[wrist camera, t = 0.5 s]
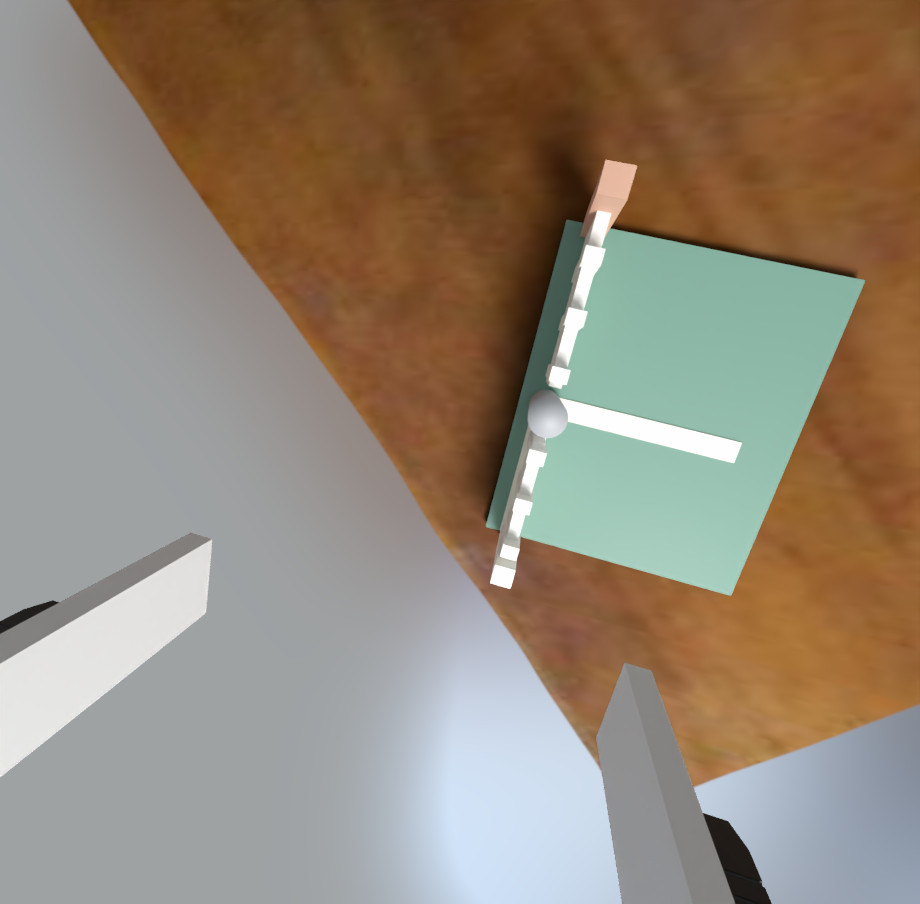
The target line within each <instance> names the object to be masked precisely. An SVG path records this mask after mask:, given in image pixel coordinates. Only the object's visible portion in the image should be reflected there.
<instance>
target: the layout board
mask: <svg viewBox="0 0 920 904" xmlns="http://www.w3.org/2000/svg"><path fill="white" fill-rule="evenodd" d="M582 227H583V223H581V222H576V221H571V220H566V224H565V228H564V231H563V235H562V239H561V243H560V247H559V250H558V254H557V258H556V262H555V265H554V269H553V273H552V277H551V281H550V284H549V288H548V292H547V296H546V300H545V303H544V307H543V311H542V315H541V319H540V322H539V326H538V330H537V334H536V338H535V341H534V345H533V349H532V353H531V356H530V360H529V364H528V368H527V372H526V375H525V379H524V383H523V387H522V391H521V394H520V398H519V402H518V406H517V410H516V413H515V417H514V421H513V425H512V429H511V432H510V436H509V440H508V444H507V447H506V451H505V455H504V459H503V463H502V466H501V470H500V474H499V478H498V482H497V485H496V489H495V493H494V497H493V501H492V504H491V508H490V512H489V516H488V520H487V523H486V527H488V528H492V529H496V530H499V531H501V528H502V525H503V524H505V523H506V517H507V514H508V510H509V508H510V509H511V506H512V503H513V499H514V495H515V488H516V481H517V477H518V474H519V470H520V471H521V470H522V466H523V463H524V459H525V455H526V452H527V441H528V437H529V434H530V431H532V430H531V429H530V427H529V424H528V409H529V401H530V398H531V397H532V395H533V394H534V393H535V392H537V391H539V390H542V389H548V390H551V391H553V392H555V393H556V394H557V395H558V397H559V398H560V400H561V402H562V403H563V405H564V406H565V408H566V410H567V413H568V423H567V426H566V428H565V430H564V431H563V432H562V433H561V434H559V435H558V436H556V437H553V438H545V443H546V450H547V455H546V459H545V462H544V466H543V467H540V466H539V469H538V472H537V476H536V479H535V483H534V486H533V504H532V507H531V511H530V514H529V515H525V518H524V521H523V525H522V528H521V535H520V537H524V538H527V539H531V540H535V541H538V542H542V543H545V544H549V545H552V546H556V547H559V548H563V549H566V550H570V551H574V552H577V553H581V554H584V555H588V556H591V557H595V558H598V559H602V560H605V561H609V562H613V563H616V564H620V565H623V566H627V567H630V568H634V569H637V570H641V571H645V572H648V573H652V574H655V575H659V576H662V577H666V578H669V579H673V580H676V581H680V582H684V583H687V584H691V585H694V586H698V587H701V588H705V589H708V590H712V591H715V592H719V593H723V594H726V595H730V596H731V594H732V592H733V590H734V587H735V585H736V583H737V580H738V578H739V576H740V573H741V571H742V569H743V566H744V564H745V562H746V559H747V557H748V555H749V552H750V550H751V548H752V545H753V543H754V541H755V538H756V536H757V533H758V531H759V529H760V526H761V524H762V522H763V519H764V517H765V515H766V512H767V510H768V508H769V505H770V503H771V501H772V498H773V496H774V494H775V491H776V489H777V487H778V484H779V482H780V480H781V477H782V475H783V472H784V470H785V468H786V465H787V463H788V461H789V458H790V456H791V454H792V451H793V449H794V447H795V444H796V442H797V440H798V437H799V435H800V433H801V430H802V428H803V426H804V423H805V421H806V419H807V416H808V414H809V411H810V409H811V407H812V404H813V402H814V400H815V397H816V395H817V393H818V390H819V388H820V386H821V383H822V381H823V379H824V376H825V374H826V372H827V369H828V367H829V365H830V362H831V360H832V358H833V355H834V353H835V350H836V348H837V346H838V343H839V341H840V339H841V336H842V334H843V332H844V329H845V327H846V325H847V322H848V320H849V318H850V315H851V313H852V311H853V308H854V306H855V304H856V301H857V299H858V297H859V294H860V292H861V290H862V287H863V285H864V282H865V280H861V279H856V278H851V277H846V276H841V275H836V274H831V273H827V272H822V271H817V270H812V269H807V268H802V267H797V266H792V265H787V264H782V263H777V262H773V261H768V260H763V259H758V258H753V257H748V256H743V255H738V254H733V253H728V252H724V251H719V250H714V249H709V248H704V247H699V246H694V245H689V244H684V243H679V242H674V241H670V240H665V239H660V238H655V237H650V236H645V235H640V234H635V233H630V232H625V231H620V230H616V229H611V228H610V230H609V231H608V233H607V235H606V236H605V238H604V241H603V244H602V248H604V249H606V250H605V253H604V257H603V260H602V264H601V266H600V268H599V269H598V271H597V272H596V273H595V275H594V276H593V279H592V283H591V286H590V290H589V293H588V297H587V301H586V304H585V308H584V311H587V312H588V313H587V316H586V319H585V323H584V326H583V328H581V329H580V330H578V332H577V336H576V339H575V343H574V346H573V350H572V353H571V357H570V360H569V364H568V367H567V369H569V370H571V372H570V375H569V379H568V382H567V385H562V388H561V389H559V388H555V387H551V386H548V384H547V382H546V379H547V378H546V376H545V375H546V372H547V368H548V364H551V361H552V358H553V354H554V350H555V347H556V343H557V339H558V336H559V332H560V331H559V330H558V328H559V324H560V321H561V318H562V316H563V315H564V313H565V310H566V307H567V303H568V300H569V296H570V292H571V289H572V285H573V283H572V282H571V281H572V277H573V273H574V270H575V267H576V265H577V263H578V261H579V259H580V256H581V252H582V249H583V245H584V242H585V237H580V234H581V231H582Z"/></svg>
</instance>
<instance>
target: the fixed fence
mask: <svg viewBox="0 0 920 904" xmlns="http://www.w3.org/2000/svg"><path fill="white" fill-rule="evenodd" d="M567 423H568V413H567V410H566V408H565V406H564V405H563V403H562V402H561V400H560V398H559V397H558V395H557V394H556V393H555V392H553V391H551V390H548V389H542V390H539V391H537V392H535V393H534V394H533V395H532V397H531V398H530V401H529V409H528V424H529V427H530V429H531V430H532V431H530V434H529V437H528V441H527V452H526V455H525V459H524V463H523V466H522V470H521V471H520V470H519V474H518V477H517V481H516V488H515V495H514V499H513V503H512V506H511V509H510V508H509V510H508V514H507V517H506V523H505V524H503V525H502V528H501V531H500V535H499V539H498V544H497V550H496V555H495V560H494V565H493V570H492V576H491V581H490V583H492V584H495V585H498V586H502V587H505V588H509V589H510V588H511V585H512V582H513V578H514V575H515V571H516V561H517V556H518V552H519V549H520V535H521V528H522V525H523V521H524V518H525V515H529V514H530V511H531V507H532V504H533V486H534V483H535V479H536V476H537V472H538V469H539V466H540V467H543V466H544V462H545V459H546V455H547V450H546V443H545V438H553V437H556V436H558V435H559V434H561V433H562V432H563V431H564V430H565V428H566V426H567Z"/></svg>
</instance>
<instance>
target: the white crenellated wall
mask: <svg viewBox="0 0 920 904" xmlns="http://www.w3.org/2000/svg"><path fill="white" fill-rule="evenodd" d="M636 168H637V166H636V165H631V164H626V163H620V162H615V161H610V160H605V163H604V166H603V168H602V171H601V174H600V177H599V179H598V182H597V185H596V188H595V190H594V193H593V196H592V199H591V201H590V204H589V207H588V210H587V212H586V216H585V220H584V223H583V227H582V231H581V234H580V237H585V242H584V245H583V249H582V252H581V256H580V259H579V261H578V263H577V265H576V267H575V270H574V273H573V277H572V281H571V282H572V283H573V285H572V289H571V292H570V296H569V300H568V303H567V307H566V310H565V313H564V315H563V316H562V318H561V321H560V324H559V328H558V330H559V331H560V332H559V336H558V339H557V343H556V347H555V350H554V354H553V358H552V361H551V364H548V368H547V372H546V375H545V376H546V378H547V379H546V382H547V384H548V386H551V387H555V388H559V389H561V388H562V385H567V382H568V379H569V375H570V372H571V370H569V369H567V367H568V364H569V360H570V357H571V353H572V350H573V346H574V343H575V339H576V336H577V332H578V330H580V329H581V328H583V326H584V323H585V319H586V316H587V313H588V312H587V311H584V308H585V304H586V301H587V297H588V293H589V290H590V286H591V283H592V279H593V276H594V275H595V273H596V272H597V271H598V269H599V268H600V266H601V264H602V260H603V257H604V253H605V250H606V249H604V248H602V244H603V241H604V238H605V236H606V235H607V233H608V231H609V230H610V228H611V226H612V225H613V223H614V221H615V220H616V218H617V216H618V215H619V213H620V211H621V210H622V208H623V206H624V205H625V203H626V201H627V199H628V196H629V192H630V189H631V185H632V182H633V179H634V175H635V172H636Z"/></svg>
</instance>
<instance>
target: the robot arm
mask: <svg viewBox="0 0 920 904" xmlns="http://www.w3.org/2000/svg"><path fill="white" fill-rule="evenodd" d="M211 547H212V539H210V538H207V537H203V536H200V535H196V534H193V533H189V534H188V535H185V536H184V537H182V538H180V539H178V540H176V541H174V542H172V543H171V544H169V545H167V546H165V547H163V548H161V549H159V550H157V551H155V552H153V553H152V554H150V555H148V556H146V557H144V558H142V559H141V560H138V561H137V562H135V563H133V564H131V565H129V566H127V567H125V568H123V569H122V570H120V571H118V572H116V573H114V574H112V575H110V576H108V577H106V578H105V579H103V580H101V581H99V582H97V583H95V584H93V585H91V586H90V587H88V588H86V589H84V590H82V591H80V592H78V593H76V594H74V595H73V596H71V597H69V598H67V599H65V600H63V601H61V602H56V601H50V602H46V603H43V604H40V605H37V606H33V607H30V608H27V609H24V610H22V611H20V612H18V613H16V614H14V615H12V616H10V617H8V618H6V619H4V620H2V621H0V777H1V776H2V775H4V774H5V773H6V772H7V771H8V770H10V769H11V768H12V767H14V766H15V765H16V764H17V763H19V761H21V760H22V759H24V758H25V757H26V756H27V755H28V754H30V753H31V752H32V751H34V750H35V749H36V748H37V747H38V746H40V745H41V744H42V743H44V742H45V741H46V740H47V739H49V738H50V737H51V736H52V735H54V734H55V733H56V732H57V731H59V730H60V729H61V728H62V727H64V726H65V725H66V724H67V723H69V722H70V721H71V720H72V719H74V718H75V717H76V716H77V715H79V714H80V713H81V712H82V711H84V710H85V709H86V708H87V707H89V706H90V705H91V704H92V703H94V702H95V701H96V700H97V699H99V698H100V697H101V696H102V695H104V694H105V693H106V692H107V691H109V690H110V689H111V688H112V687H114V686H115V685H116V684H118V683H119V682H120V681H121V680H123V679H124V678H125V677H126V676H128V675H129V674H130V673H131V672H133V671H134V670H135V669H136V668H138V667H139V666H140V665H141V664H143V663H144V662H145V661H146V660H148V659H149V658H150V657H151V656H153V655H154V654H155V653H156V652H158V651H159V650H160V649H161V648H163V647H164V646H165V645H166V644H168V643H169V642H170V641H171V640H173V638H175V637H176V636H178V634H180V633H181V632H183V631H184V630H185V629H186V628H187V627H189V626H190V625H191V624H193V623H194V622H195V621H196V620H198V619H199V618H200V617H201V616H203V615H204V614H205V613H206V605H207V595H208V583H209V572H210V560H211ZM596 738H597V745H598V751H599V758H600V764H601V770H602V777H603V783H604V789H605V795H606V802H607V809H608V815H609V822H610V828H611V834H612V840H613V847H614V854H615V860H616V867H617V872H618V879H619V886H620V892H621V899H622V904H771V901H770V899H769V896H768V894H767V892H766V889H765V888H764V887H762V880H761V878H760V875H759V873H758V871H757V869H756V866H755V864H754V861H753V859H752V856H751V854H750V852H749V850H748V848H747V847H746V846H745V844H744V843H743V841H742V840H741V839H740V837H739V836H738V834H737V833H736V832H735V830H734V829H733V827H732V826H731V825H730V823H729V822H728V821H725V820H722V819H719V818H716V817H713V816H710V815H707V814H704V813H702V810H701V807H700V804H699V802H698V799H697V796H696V793H695V791H694V788H693V785H692V782H691V779H690V777H689V774H688V771H687V768H686V765H685V763H684V760H683V757H682V754H681V752H680V749H679V746H678V743H677V740H676V738H675V735H674V732H673V729H672V727H671V724H670V721H669V718H668V715H667V713H666V710H665V707H664V704H663V702H662V699H661V696H660V693H659V690H658V688H657V685H656V682H655V679H654V677H653V674H652V671H650V670H647V669H644V668H640V667H637V666H634V665H630V664H627V663H624V666H623V668H622V671H621V674H620V676H619V679H618V682H617V684H616V687H615V690H614V692H613V695H612V698H611V700H610V703H609V705H608V708H607V711H606V713H605V716H604V719H603V721H602V724H601V727H600V729H599V732H598V735H597V737H596Z"/></svg>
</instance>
